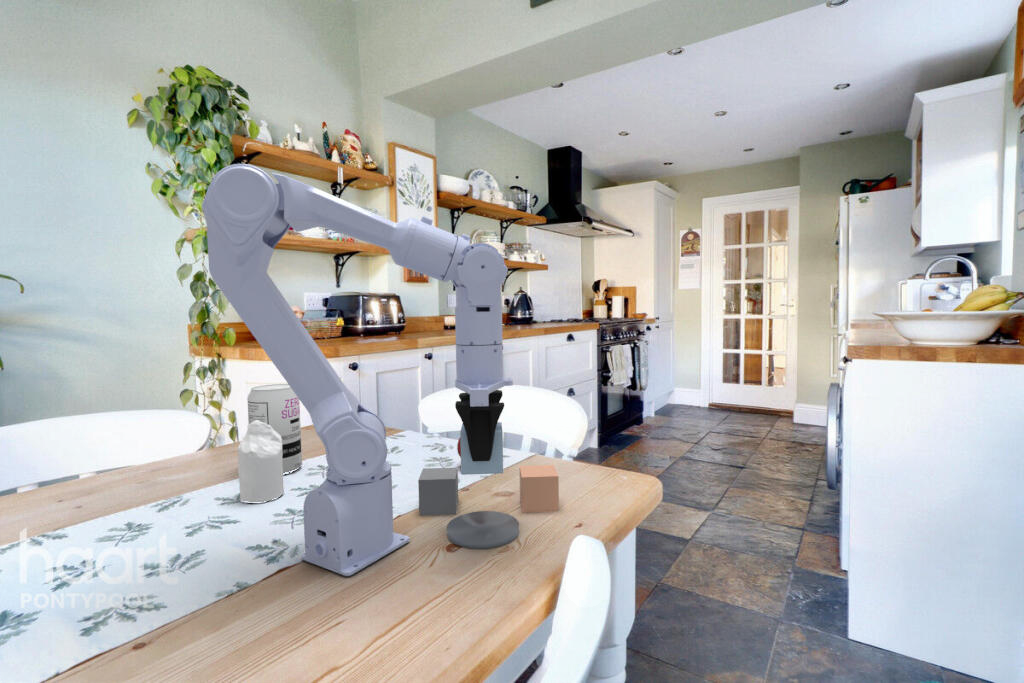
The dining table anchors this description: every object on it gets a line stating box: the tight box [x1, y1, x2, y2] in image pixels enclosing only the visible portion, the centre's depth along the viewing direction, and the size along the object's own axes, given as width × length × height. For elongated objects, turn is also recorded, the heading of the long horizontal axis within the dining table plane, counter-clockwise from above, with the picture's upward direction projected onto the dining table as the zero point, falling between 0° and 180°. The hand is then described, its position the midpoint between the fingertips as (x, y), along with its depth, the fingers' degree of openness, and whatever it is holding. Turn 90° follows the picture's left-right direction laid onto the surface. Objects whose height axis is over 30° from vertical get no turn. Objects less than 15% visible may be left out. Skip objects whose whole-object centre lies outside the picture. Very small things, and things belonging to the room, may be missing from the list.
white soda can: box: [246, 383, 303, 473], centre depth 87 cm, size 8×8×15 cm
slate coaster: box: [446, 510, 520, 550], centre depth 62 cm, size 9×9×1 cm
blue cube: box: [459, 421, 504, 476], centre depth 61 cm, size 5×5×5 cm
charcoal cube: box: [417, 467, 459, 517], centre depth 70 cm, size 5×5×5 cm
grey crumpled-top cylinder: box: [237, 420, 285, 502], centre depth 75 cm, size 6×12×6 cm
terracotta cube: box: [519, 464, 560, 513], centre depth 70 cm, size 5×5×5 cm
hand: (481, 453), depth 61 cm, fingers closed on blue cube, 5 cm apart
